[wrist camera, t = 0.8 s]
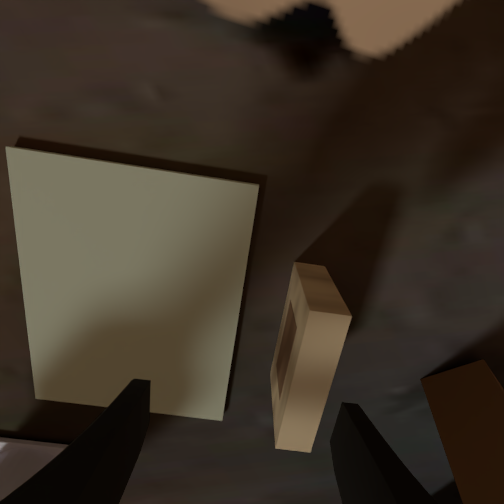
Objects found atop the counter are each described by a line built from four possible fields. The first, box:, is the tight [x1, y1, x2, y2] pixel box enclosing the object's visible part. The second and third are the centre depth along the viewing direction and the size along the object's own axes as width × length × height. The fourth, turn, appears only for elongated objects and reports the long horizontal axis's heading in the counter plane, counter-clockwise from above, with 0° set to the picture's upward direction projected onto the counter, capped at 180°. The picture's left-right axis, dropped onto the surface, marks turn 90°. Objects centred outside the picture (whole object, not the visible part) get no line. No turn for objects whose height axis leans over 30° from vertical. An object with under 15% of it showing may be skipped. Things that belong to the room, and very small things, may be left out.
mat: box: [6, 146, 259, 421], centre depth 21 cm, size 18×14×1 cm
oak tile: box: [270, 262, 352, 452], centre depth 19 cm, size 9×2×6 cm, turn 171°
